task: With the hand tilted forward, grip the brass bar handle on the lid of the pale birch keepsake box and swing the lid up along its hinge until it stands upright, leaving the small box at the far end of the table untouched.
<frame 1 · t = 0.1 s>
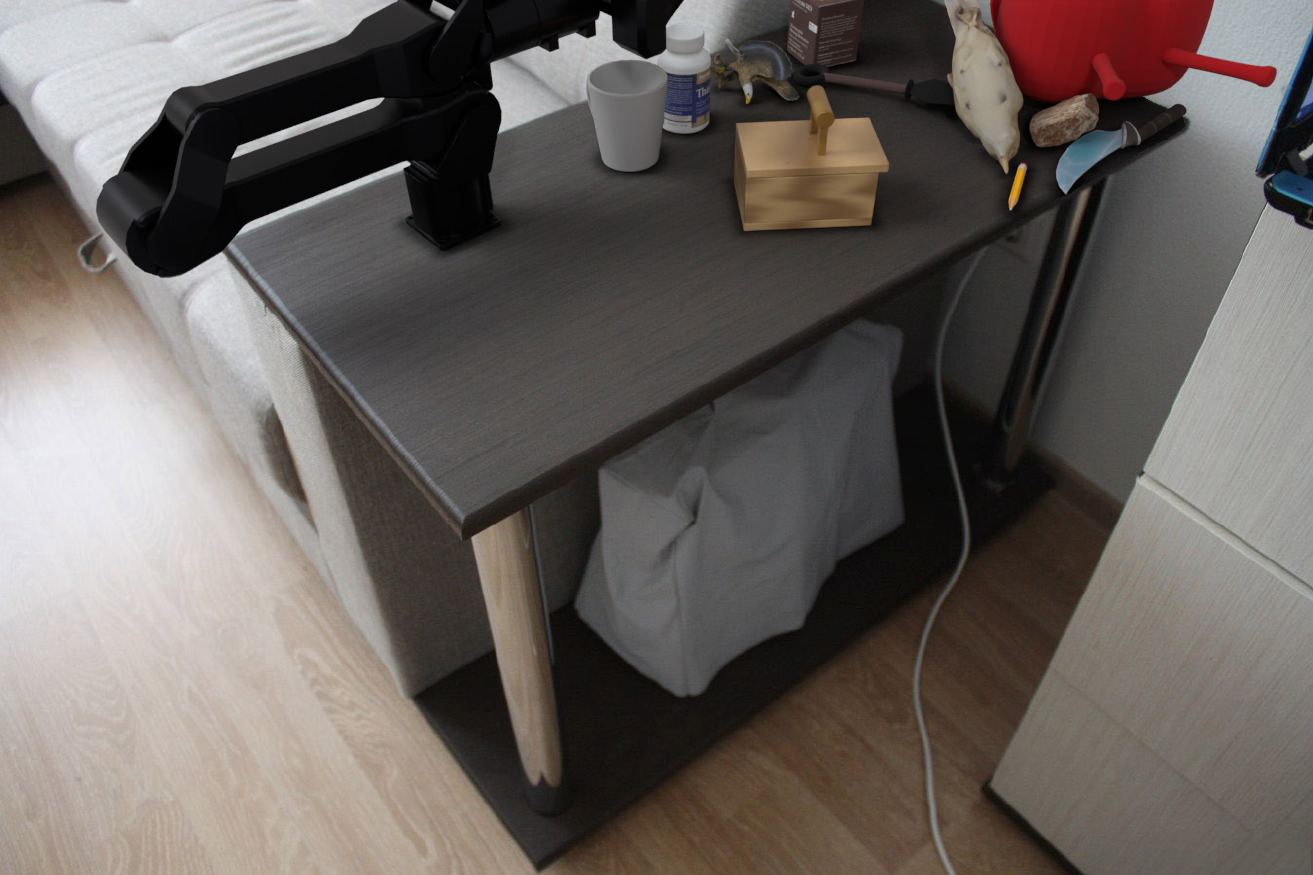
sculpture: (966, 56, 100), point 8 cm above the table, touching kunai knife
knife: (1084, 132, 103), point 1 cm above the table, touching stone
stone: (1086, 137, 102), point 1 cm above the table, touching knife, kunai knife, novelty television
cup: (623, 156, 103), on the table
pill bottle: (684, 125, 108), on the table
pencil: (1012, 184, 97), point 1 cm above the table
keepsake box: (800, 203, 96), on the table
lid: (812, 125, 90), point 8 cm above the table, hinge at 0.0°
kunai knife: (1014, 155, 106), on the table, touching sculpture, stone
box: (821, 58, 119), on the table
eagle figurine: (754, 97, 112), on the table
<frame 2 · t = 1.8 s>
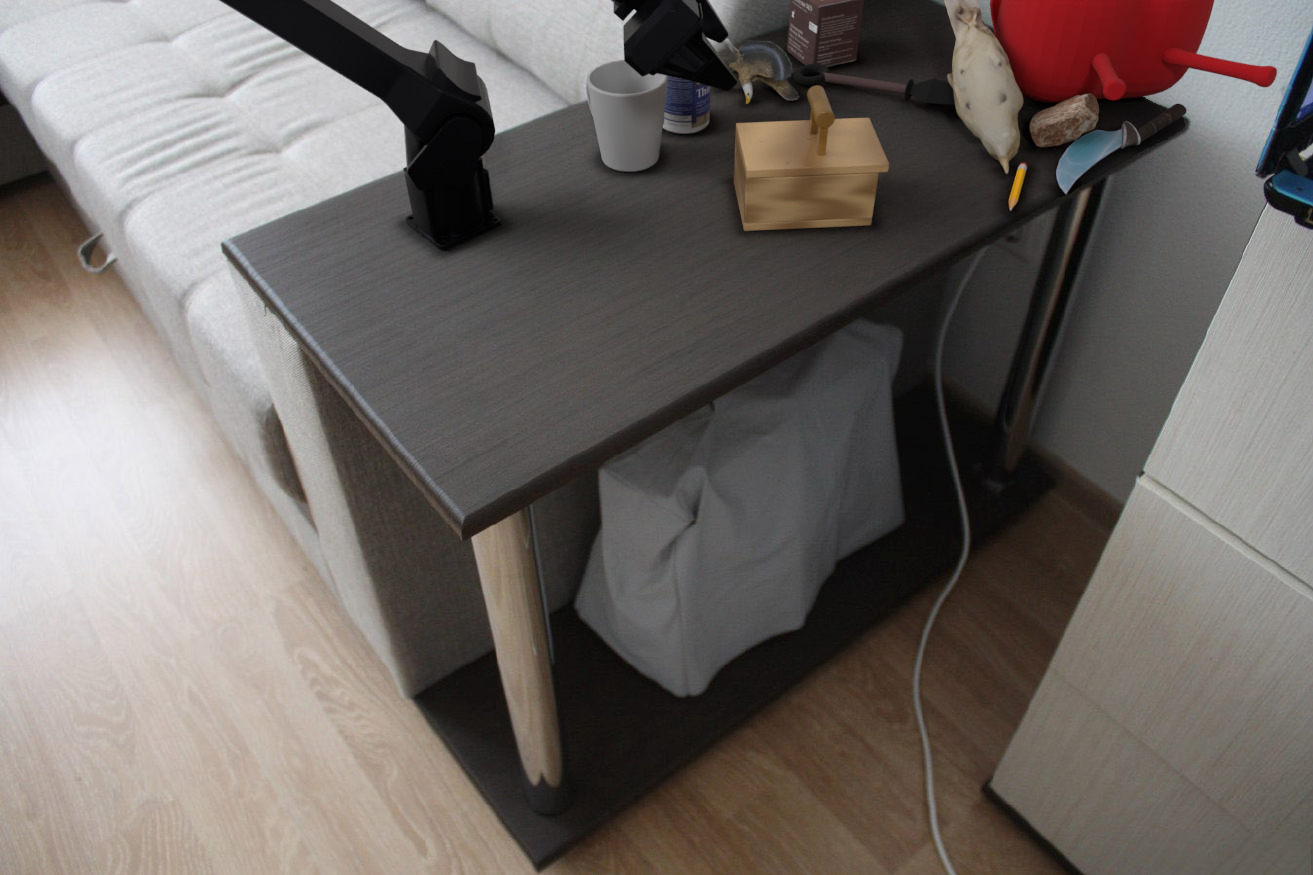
hand: (729, 61, 86), 14 cm above the table, tool tilted 45°, fingers open, 9 cm apart
nothing on the table moved.
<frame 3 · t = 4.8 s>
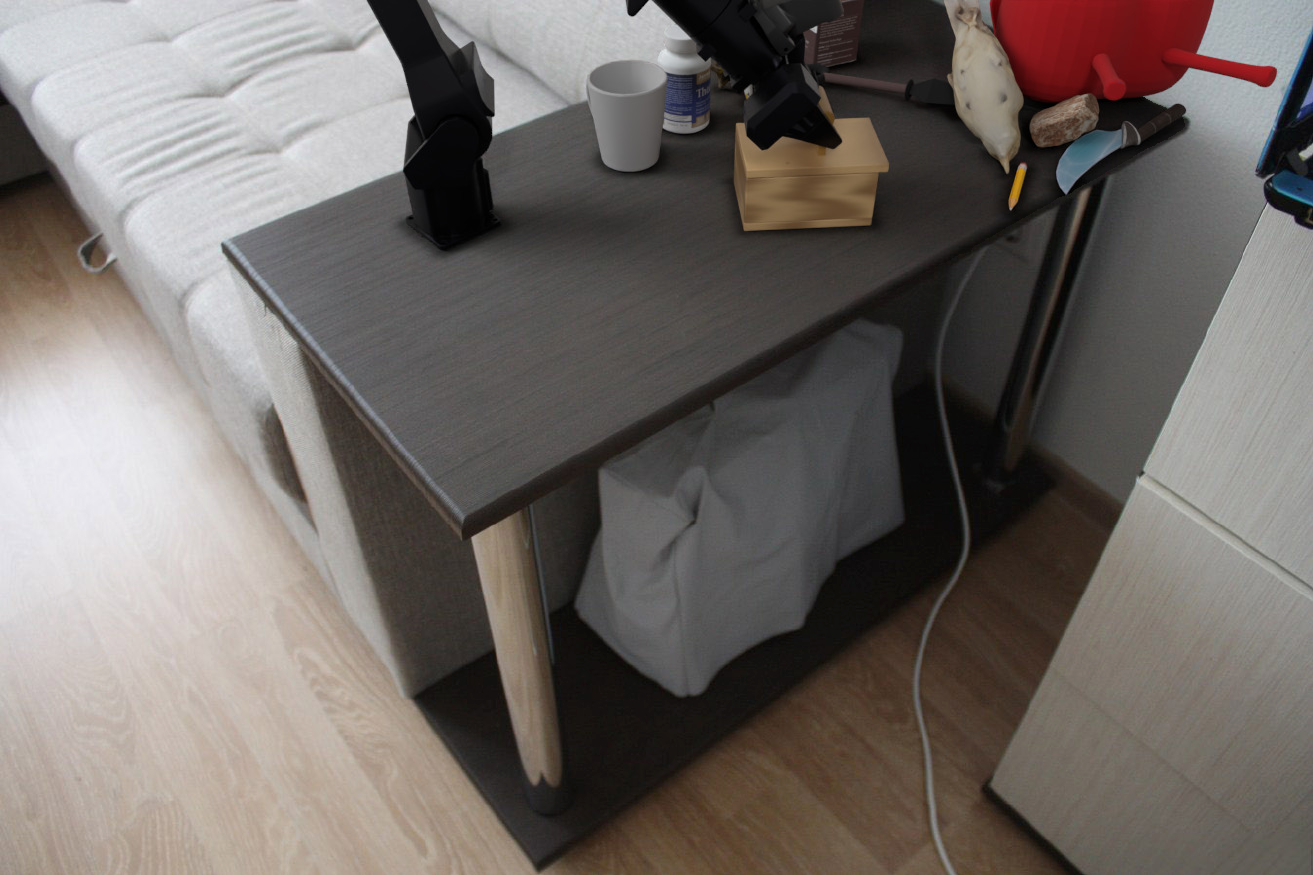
hand: (833, 130, 91), 7 cm above the table, tool tilted 45°, fingers closed on lid, 5 cm apart
knife: (1084, 132, 103), point 1 cm above the table
stone: (1086, 137, 102), point 1 cm above the table, touching kunai knife, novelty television
lid: (812, 125, 90), point 8 cm above the table, hinge at 0.0°, touching gripper
everything else where it was.
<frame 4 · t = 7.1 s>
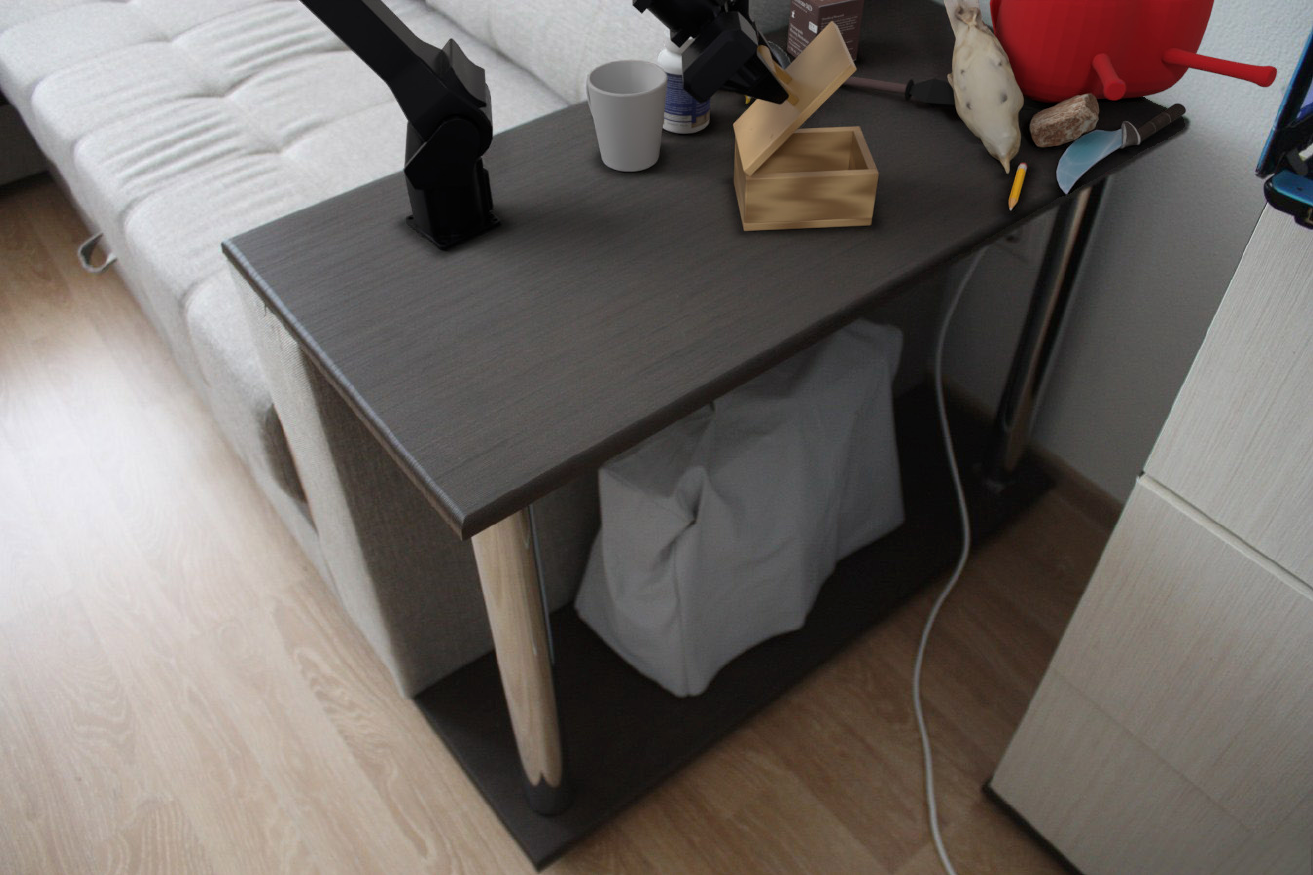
hand: (781, 85, 88), 12 cm above the table, tool tilted 45°, fingers closed on lid, 5 cm apart
knife: (1084, 132, 103), point 1 cm above the table, touching stone
stone: (1086, 137, 102), point 1 cm above the table, touching knife, kunai knife, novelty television
lid: (773, 84, 88), point 12 cm above the table, hinge at 48.4°, touching gripper
everything else where it was.
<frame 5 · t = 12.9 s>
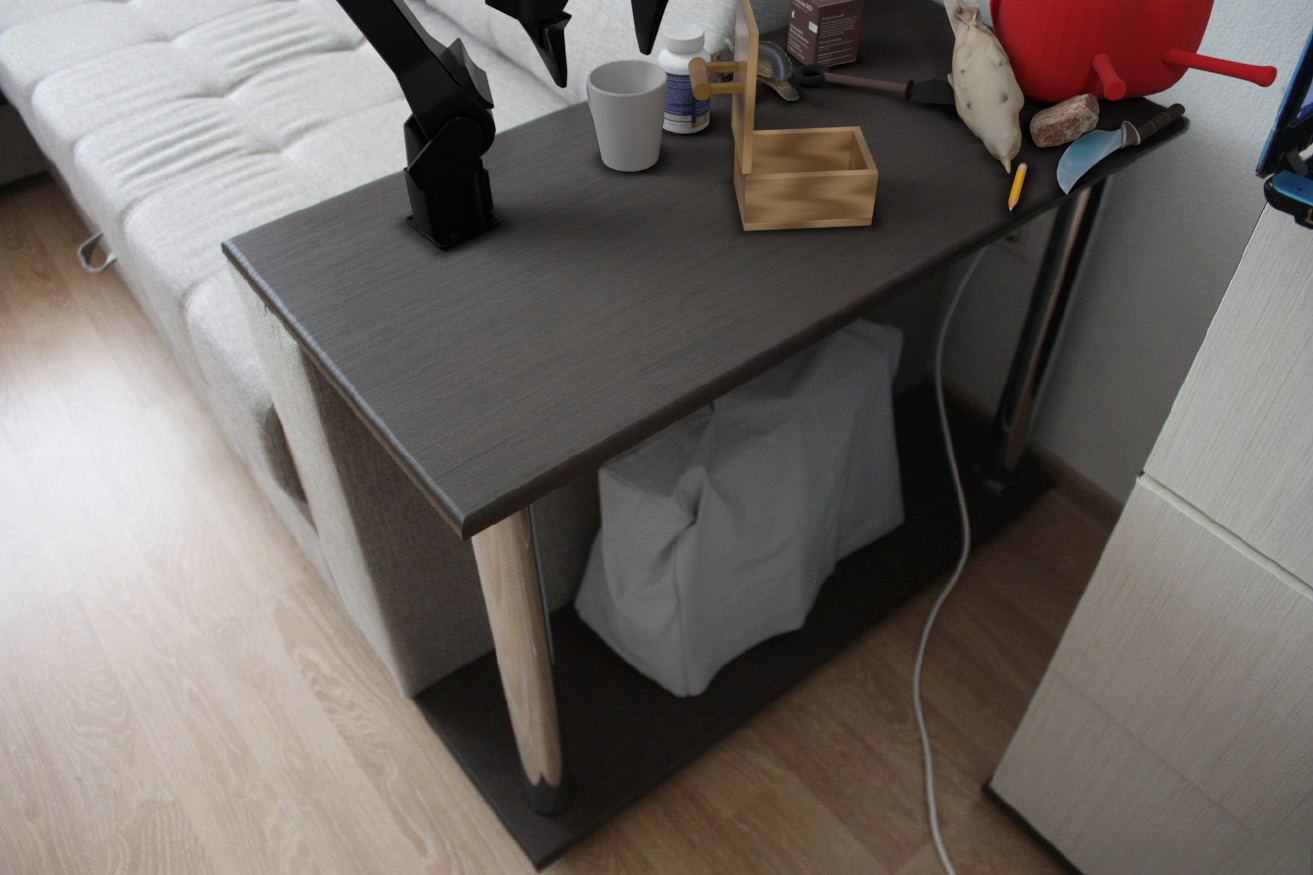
hand: (604, 70, 87), 13 cm above the table, tool pointing down, fingers open, 9 cm apart
sculpture: (966, 56, 100), point 8 cm above the table, touching kunai knife
lid: (719, 84, 87), point 12 cm above the table, hinge at 89.9°
everything else where it was.
at the end: lid at +90° (first picture: +0°); box moved 0.2 cm from its start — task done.
